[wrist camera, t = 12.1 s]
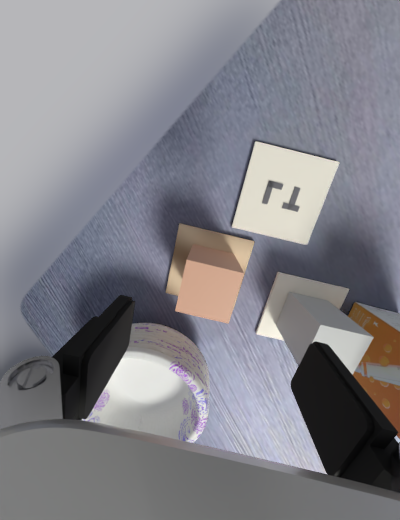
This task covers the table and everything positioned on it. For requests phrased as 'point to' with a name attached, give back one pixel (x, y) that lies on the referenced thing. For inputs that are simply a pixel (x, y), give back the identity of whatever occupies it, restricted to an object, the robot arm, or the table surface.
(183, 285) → the terracotta block
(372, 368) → the small box
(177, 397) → the paper bowls
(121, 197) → the table surface
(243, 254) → the cork mat
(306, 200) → the white square slab
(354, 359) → the grey block
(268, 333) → the tile
